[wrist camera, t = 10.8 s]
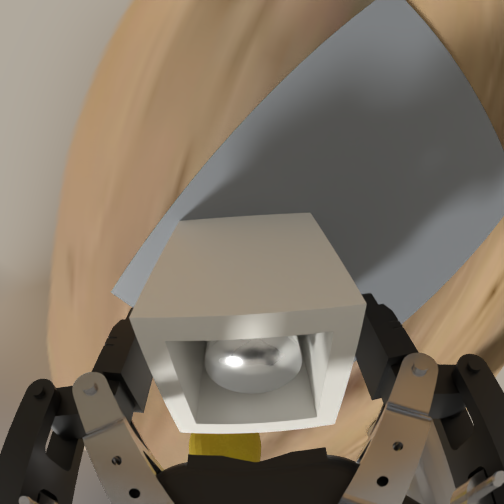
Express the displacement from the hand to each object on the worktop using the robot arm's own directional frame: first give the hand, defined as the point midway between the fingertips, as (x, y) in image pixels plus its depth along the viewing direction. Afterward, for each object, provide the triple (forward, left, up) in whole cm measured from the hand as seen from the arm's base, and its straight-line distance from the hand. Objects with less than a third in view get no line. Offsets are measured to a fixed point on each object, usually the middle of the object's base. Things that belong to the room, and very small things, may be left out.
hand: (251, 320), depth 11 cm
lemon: (-8, +12, -5) cm, 15 cm away
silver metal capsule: (0, 0, -4) cm, 4 cm away
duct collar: (0, 0, -4) cm, 4 cm away
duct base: (-2, -5, -5) cm, 8 cm away
